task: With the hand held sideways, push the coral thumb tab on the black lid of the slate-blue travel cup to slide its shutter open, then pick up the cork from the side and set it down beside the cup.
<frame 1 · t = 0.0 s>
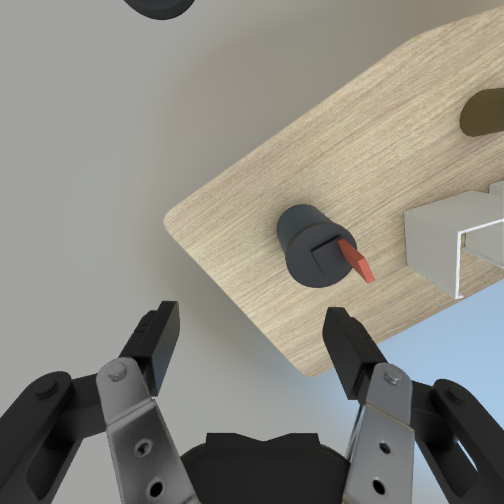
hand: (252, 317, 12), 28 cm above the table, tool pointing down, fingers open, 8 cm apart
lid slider: (340, 265, 26), point 15 cm above the table, slide at 0.0 cm
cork: (479, 113, 34), on the table
travel cup: (300, 228, 40), on the table
storage container: (476, 217, 41), on the table
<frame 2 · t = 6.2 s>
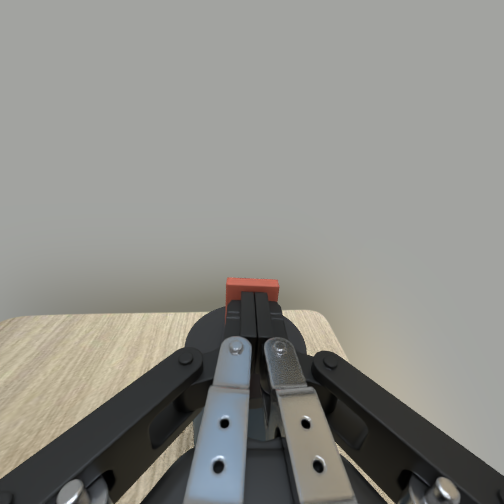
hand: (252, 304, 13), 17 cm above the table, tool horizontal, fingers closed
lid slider: (249, 306, 16), point 15 cm above the table, slide at 1.0 cm, touching gripper
travel cup: (239, 435, 22), on the table
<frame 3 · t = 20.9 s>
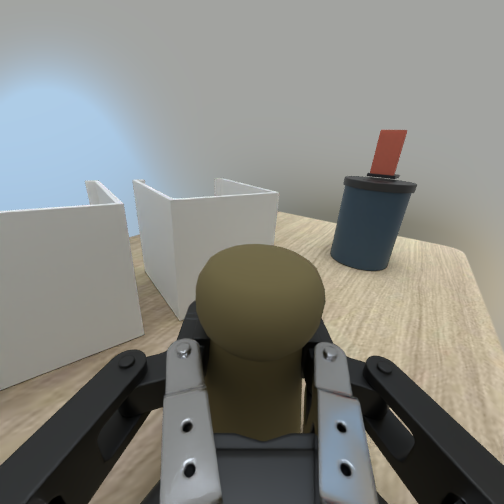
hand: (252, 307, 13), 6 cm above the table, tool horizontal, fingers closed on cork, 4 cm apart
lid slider: (389, 154, 33), point 15 cm above the table, slide at 3.6 cm
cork: (246, 431, 13), on the table, touching gripper
travel cup: (357, 258, 37), on the table
storage container: (144, 298, 24), on the table
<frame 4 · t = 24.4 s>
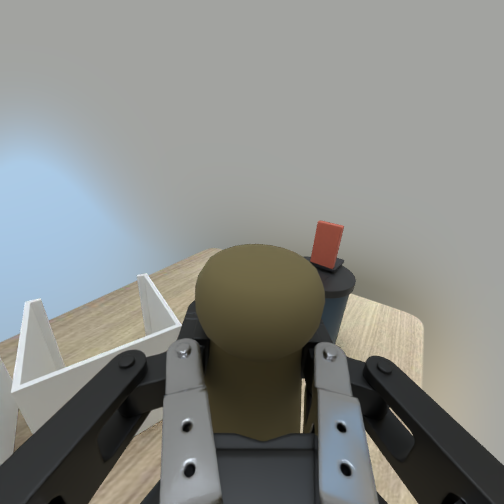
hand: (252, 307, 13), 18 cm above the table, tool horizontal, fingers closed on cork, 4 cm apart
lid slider: (330, 243, 30), point 15 cm above the table, slide at 3.6 cm
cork: (246, 431, 13), point 11 cm above the table, touching gripper
travel cup: (303, 341, 35), on the table
storage container: (37, 434, 22), on the table
when the fingers open (7 cm above the table, at t = 28.1 s): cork stays where it is, on the table.
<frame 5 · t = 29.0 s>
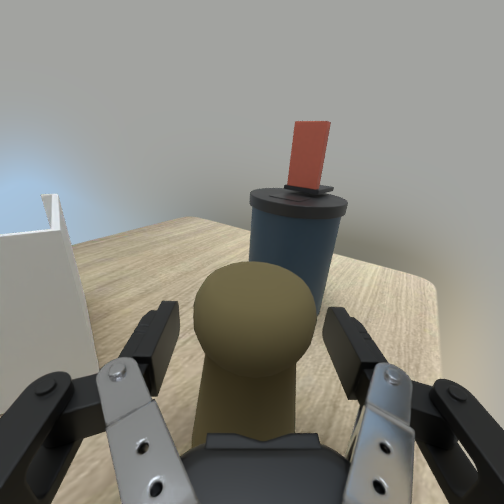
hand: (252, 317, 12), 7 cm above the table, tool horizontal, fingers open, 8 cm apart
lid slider: (314, 158, 22), point 15 cm above the table, slide at 3.6 cm
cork: (243, 439, 14), on the table
travel cup: (282, 301, 27), on the table
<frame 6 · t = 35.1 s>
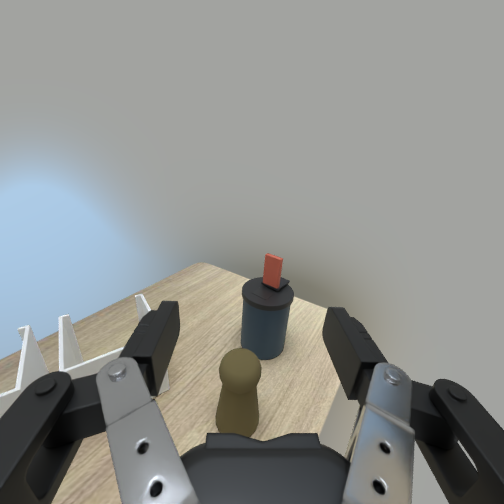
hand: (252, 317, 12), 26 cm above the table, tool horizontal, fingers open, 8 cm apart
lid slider: (277, 268, 41), point 15 cm above the table, slide at 3.6 cm
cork: (237, 417, 33), on the table
travel cup: (262, 342, 45), on the table
storage container: (66, 406, 32), on the table
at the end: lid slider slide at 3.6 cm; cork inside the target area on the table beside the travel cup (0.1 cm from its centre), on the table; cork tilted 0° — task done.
